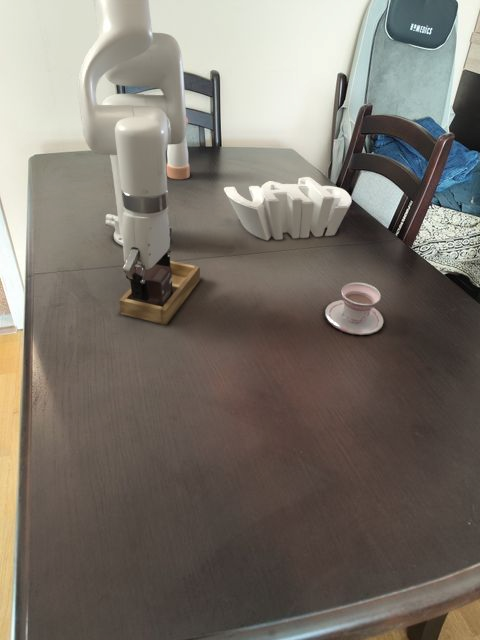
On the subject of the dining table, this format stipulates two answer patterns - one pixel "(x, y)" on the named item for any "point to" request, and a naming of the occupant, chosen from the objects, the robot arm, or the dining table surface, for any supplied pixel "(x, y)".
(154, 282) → the box
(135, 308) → the wooden tray
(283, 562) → the dining table surface
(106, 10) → the robot arm
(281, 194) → the wavy white extrusion
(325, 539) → the dining table surface
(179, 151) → the pepper shaker
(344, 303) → the teacup
